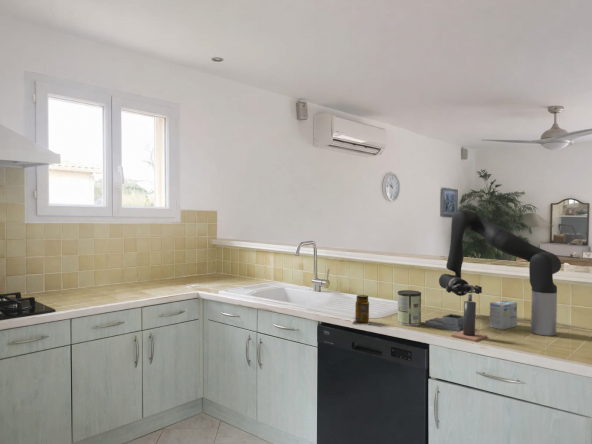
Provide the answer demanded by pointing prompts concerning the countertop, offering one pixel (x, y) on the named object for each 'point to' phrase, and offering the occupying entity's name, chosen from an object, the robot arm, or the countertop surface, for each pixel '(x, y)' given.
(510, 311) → the light bulb box
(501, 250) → the robot arm
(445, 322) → the grey holder stand
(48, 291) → the countertop surface
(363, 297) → the condiment
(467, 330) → the plug
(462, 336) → the pink square coaster
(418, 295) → the coffee can
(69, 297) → the countertop surface
